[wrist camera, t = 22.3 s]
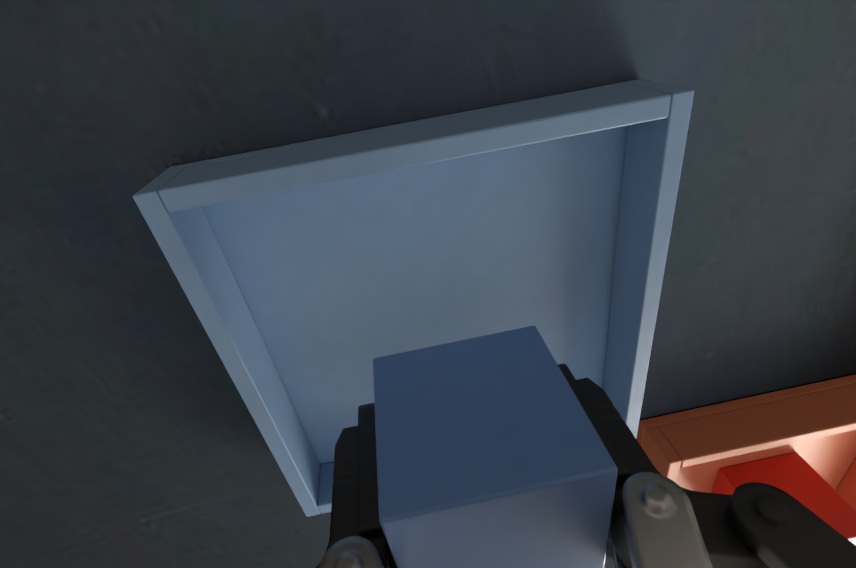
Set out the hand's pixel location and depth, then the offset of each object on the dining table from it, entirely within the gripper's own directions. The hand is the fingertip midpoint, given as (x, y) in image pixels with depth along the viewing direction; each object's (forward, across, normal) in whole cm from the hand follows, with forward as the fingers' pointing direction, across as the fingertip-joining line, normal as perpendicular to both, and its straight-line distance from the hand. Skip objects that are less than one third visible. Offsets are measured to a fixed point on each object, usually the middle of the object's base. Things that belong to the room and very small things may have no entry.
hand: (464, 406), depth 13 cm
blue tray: (+5, 0, 0) cm, 5 cm away
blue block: (0, 0, 0) cm, 0 cm away
